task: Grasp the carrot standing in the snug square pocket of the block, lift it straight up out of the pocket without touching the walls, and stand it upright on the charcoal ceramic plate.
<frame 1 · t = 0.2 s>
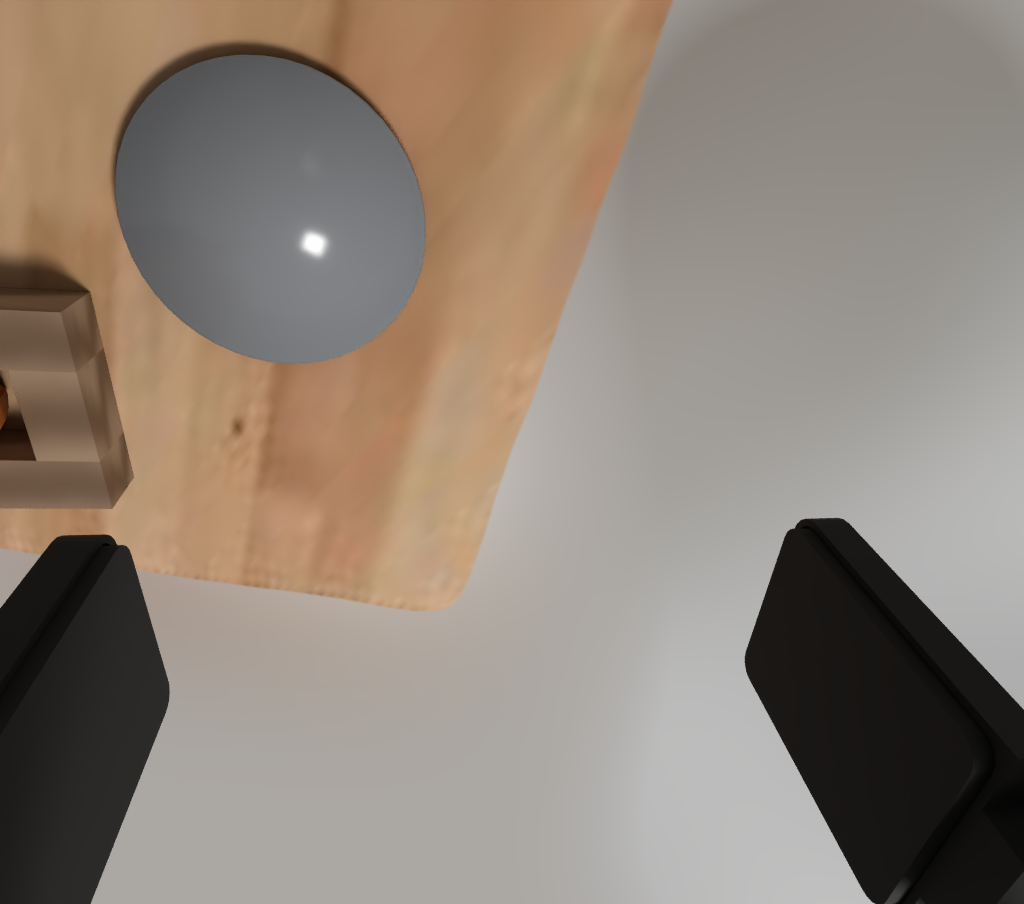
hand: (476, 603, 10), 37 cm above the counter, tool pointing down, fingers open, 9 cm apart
plate: (280, 223, 41), on the counter
pocket block: (1, 388, 44), on the counter
carrot: (3, 387, 44), resting in pocket block
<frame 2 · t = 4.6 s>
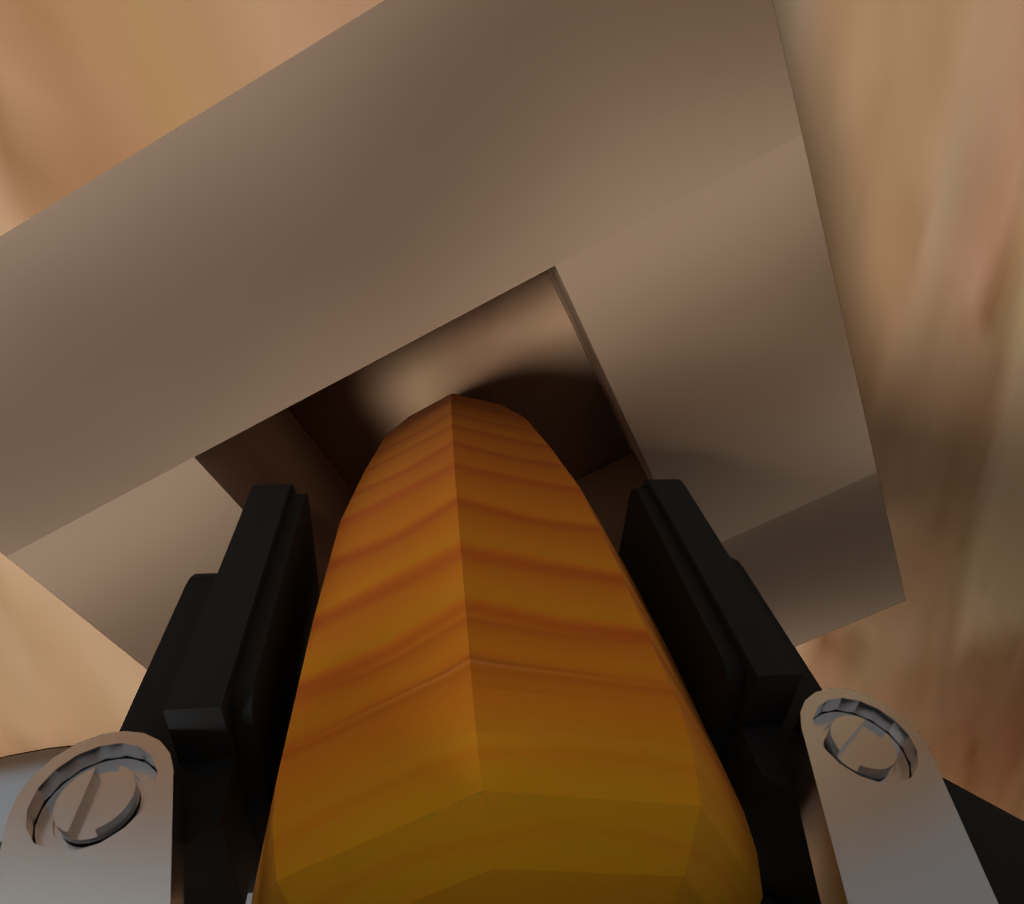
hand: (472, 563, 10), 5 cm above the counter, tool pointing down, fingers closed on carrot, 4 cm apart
pocket block: (456, 410, 15), on the counter
carrot: (455, 406, 15), resting in pocket block, touching gripper
when the fingers open (7 cm above the counter, at t = 14.7 s): carrot stays where it is, resting on plate.
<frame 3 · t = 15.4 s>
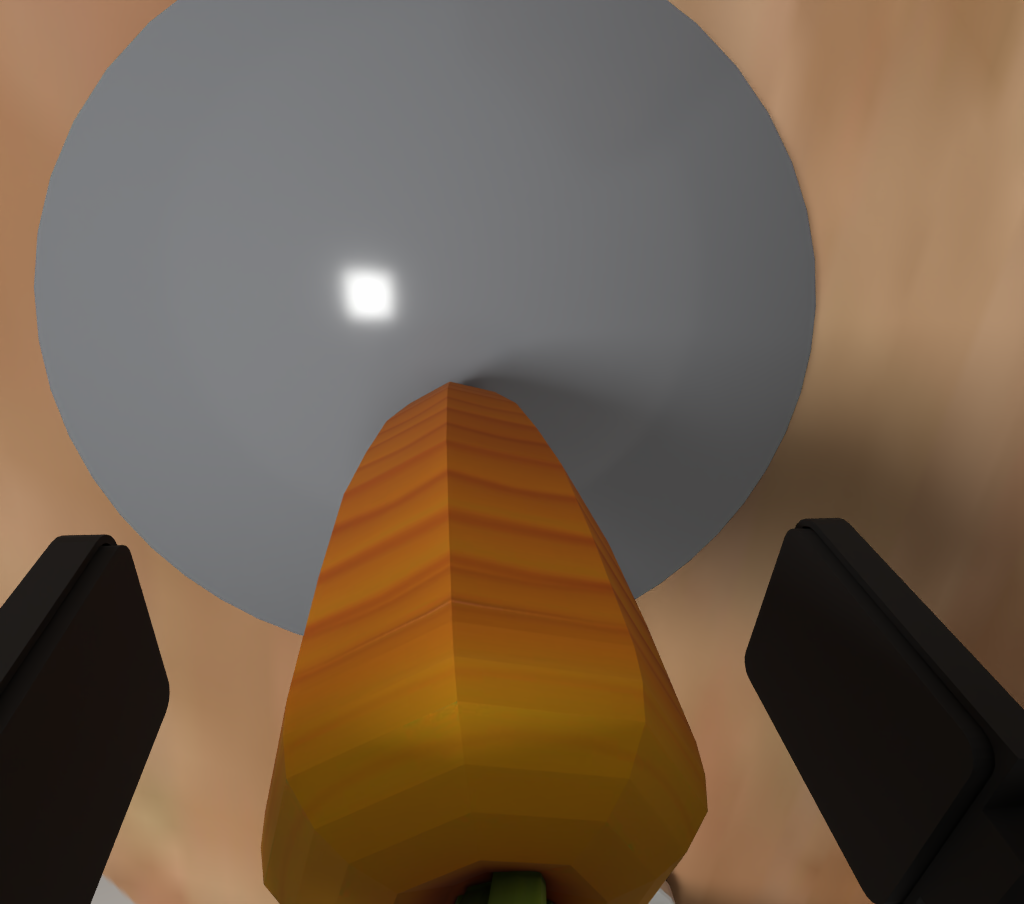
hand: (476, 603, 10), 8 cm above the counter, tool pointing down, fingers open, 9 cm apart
plate: (452, 375, 17), on the counter
carrot: (455, 394, 16), point 1 cm above the counter, touching plate
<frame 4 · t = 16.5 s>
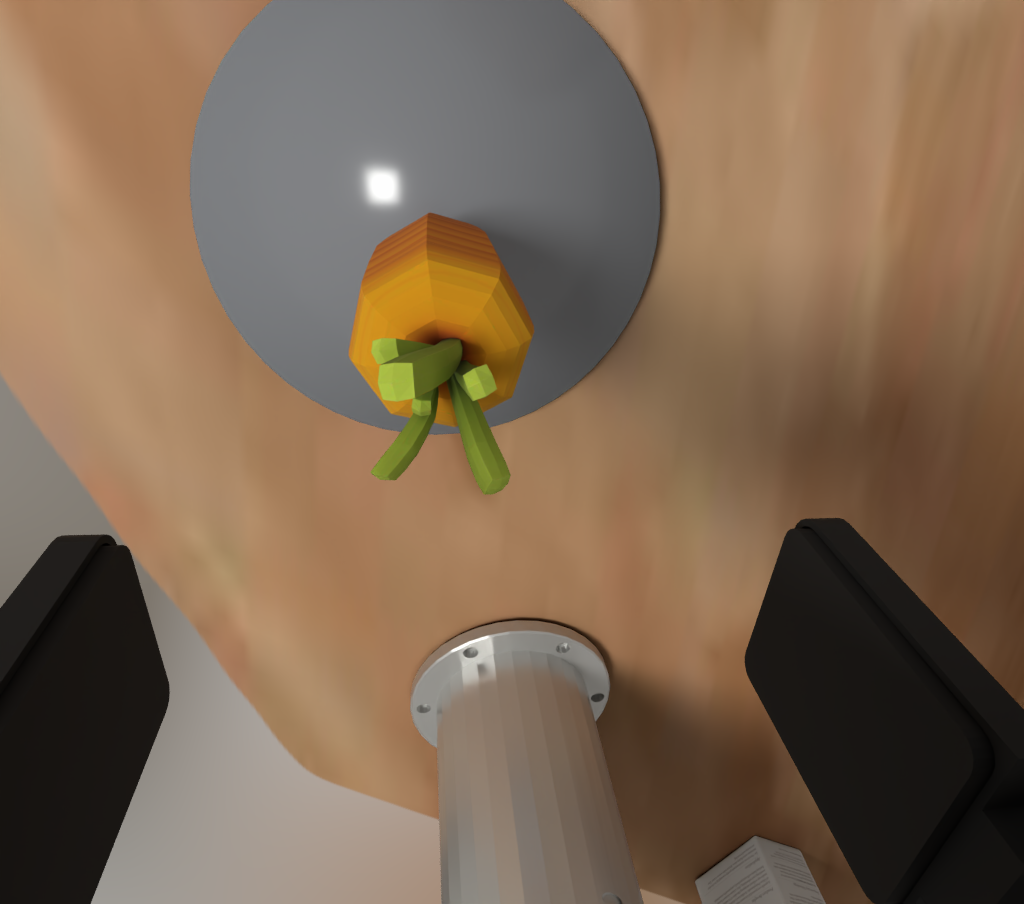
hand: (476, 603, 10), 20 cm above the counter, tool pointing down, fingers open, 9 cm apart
plate: (435, 230, 27), on the counter
skincare box: (744, 860, 59), on the counter
carrot: (437, 239, 26), point 1 cm above the counter, touching plate
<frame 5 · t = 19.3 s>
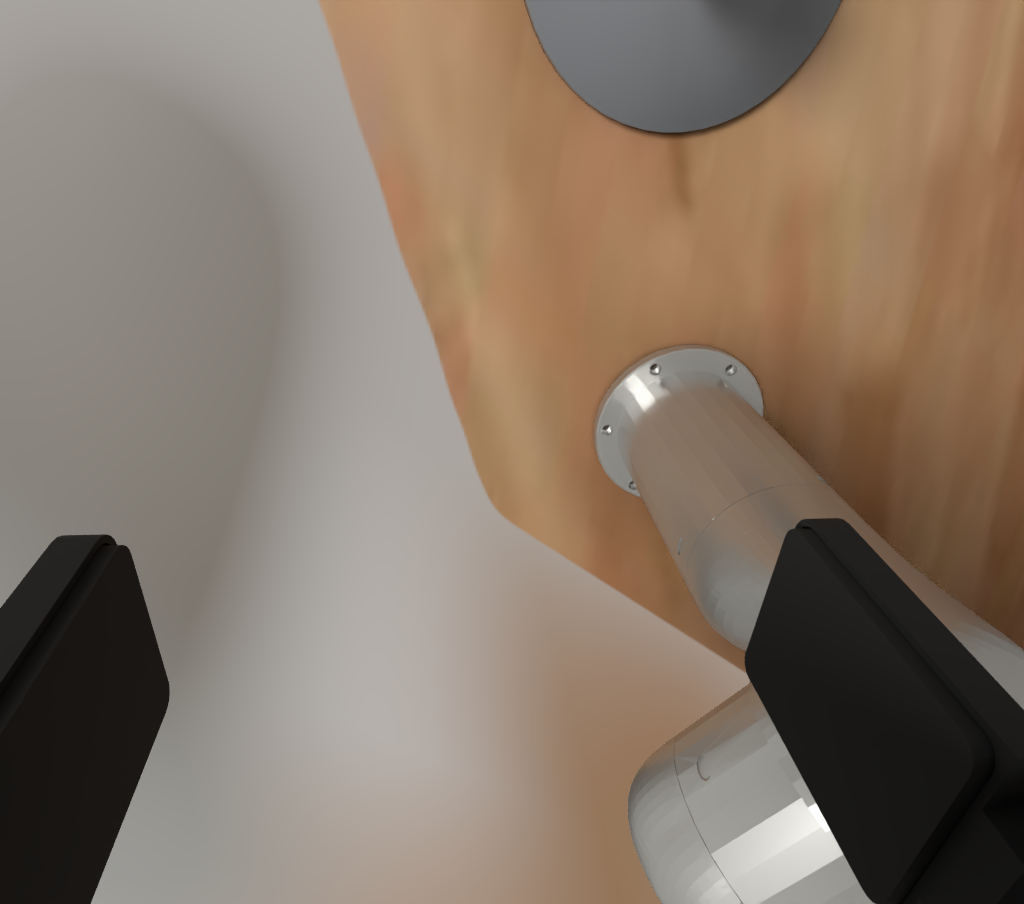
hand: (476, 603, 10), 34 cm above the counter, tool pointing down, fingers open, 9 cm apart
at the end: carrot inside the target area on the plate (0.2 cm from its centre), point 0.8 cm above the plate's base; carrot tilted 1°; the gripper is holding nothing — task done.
